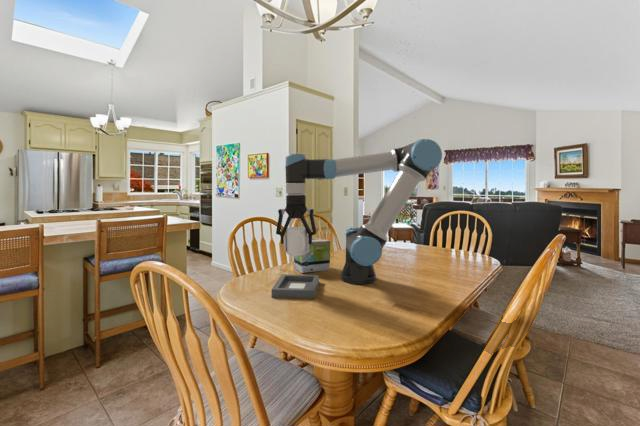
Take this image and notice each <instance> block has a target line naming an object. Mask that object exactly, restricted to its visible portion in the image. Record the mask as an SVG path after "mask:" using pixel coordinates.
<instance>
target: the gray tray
mask: <svg viewBox="0 0 640 426" xmlns="http://www.w3.org/2000/svg"><path fill="white" fill-rule="evenodd" d="M319 283H320V275H319V274H317V275H316V274H289V273H288V274H287V273H286V274H283V273H281V275H280V276H279V278H278V279H277V280H276V281H275V283H274V284H273V287H272V288H271V298H277V299H279V298H283V299H285V298H286V299H287V298H288V299H309V300H310V299H314V300H316V296H317V292H318V287H319Z"/></svg>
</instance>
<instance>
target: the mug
mask: <svg viewBox="0 0 640 426" xmlns="http://www.w3.org/2000/svg"><path fill="white" fill-rule="evenodd" d="M285 235H286V243H287V252H286V254H287V255H288V256H293V257H294V256H302V255H306V254H307V238H306V236H307V235H308V233H307V231H306V229H305V227H304V226H292V227H291V226H288V228H287V229H286V232H285Z"/></svg>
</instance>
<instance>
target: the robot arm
mask: <svg viewBox="0 0 640 426" xmlns="http://www.w3.org/2000/svg"><path fill="white" fill-rule="evenodd" d="M442 157H443V152H442V148H441V146H440V145H439V144H438V143H437V142H436V141H434V140H433V139H428V138H422V139H418V140H416V141H415V142H412V143H410V144H408V145H405V146H402V147H398V148H392V149H391V150H390V151H386V152H379V153H372V154H364V155H359V156H351V157H350V156H349V157H344V158H336V159H331V158H321V159H320V158H319V159H318V158H317V159H308V158H306V156H305V154H303V153H289V154H287V155H286V156H285V167H284V168H285V193H286V194H287V195H286V196H285V202H286V203H285V208H279V209H278V210H277V213H278V218H277V219H278V220H277V225H276V230H275V231H276V232H275V234H276V235H279V236H280V244H281V245H283V253H284V254H287V243H286V229H287V228H289V227H290V226H289V225H290V223H291V220H293V219H300V221H301V222H302V225H303V227H305V229H306V231H307V236H306V238H307V253H309V244H312V239H313V236H314V235H316V234H317V227H316V223H315V218H314V211H315V209H313V208H308V207H307V205H306V203H307V202H306V195H305V194H306V180H320V181H321V180H331V179H333V180H334V179H335V178H340V177H347V176H354V175H361V174H368V173H369V174H370V173H377V172H385V171H393V172H398V173H397V174H396V176H395V177H394V179H393V181H392V182H391V184H390V185H389V187H388V189H387V191H386V192H385V194H384V195H383V197H382V199H381V200H380V201H379V203H378V205H377V206H376V209H375V210H374V212H373V213H372V215H371V217H370V218H369V220H368V221H367V222H366V223H364V224H361V225H360V226H359V227H347V228H346V230H345V261H344V265H343V268H342V271H341V275H340V277H341V278H340V279H341V281H343V282H345V283H348V284H352V285H353V284H354V285H367V284H368V285H369V284H373V283H375V282H376V281H377V280H376V279H377V274H376V271H375V268H374V265H375V264H376V263H378V262H379V260H380V259H381V257H382V254H383V248H384V246H385V245H386V243H387V241H388V237H387V234H388V232H389V231H390V229H391V228H392V226H393V225H394V223H395V221H396V219H397V218H398V217H399V215H400V214H401V212H402V210H403V208H404V207H405V206H406V204H407V202H408V200H409V199H410V197H411V196H412V194H413V193H414V191H415V189H416V188H417V186H418V184H419V183H420V182H424V181H425V180H426V179H427V177H428V176H429V175H430V173H431V171H432V170H435V169H436V168H437V167H439V165H440V164H441V161H442V159H443V158H442ZM285 213H286V214H287V218H286V221H285V224H284V226H283V228H282V224H283V218H284V215H285ZM306 213H307V214H308V215H309V221H310V226H311V227H310V226H309V224H308V222H307V220H306V217H305V214H306ZM310 228H311V229H310Z"/></svg>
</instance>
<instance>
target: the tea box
mask: <svg viewBox="0 0 640 426" xmlns="http://www.w3.org/2000/svg"><path fill="white" fill-rule="evenodd" d="M293 259H294V260H293V269H294V270H295V271H297V272H299V273H301V274H304V273H306V274H307V273H313V272H314V273H315V272H323V271H324V272H325V271H330V266H331V265H330V264H331V241H330V240H329V239H326V238H322V237H317V238H315V237H314V238H313V237H312V244H309V253H307V254H306V255H302V256H293Z"/></svg>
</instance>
